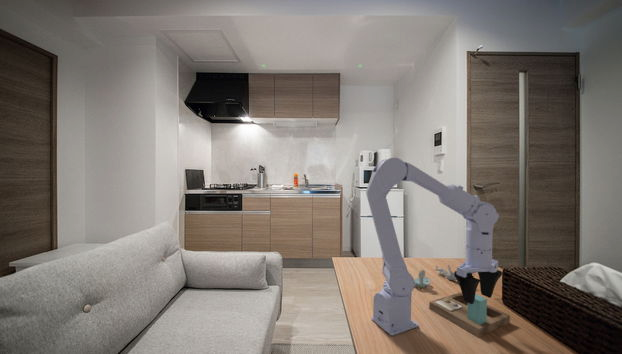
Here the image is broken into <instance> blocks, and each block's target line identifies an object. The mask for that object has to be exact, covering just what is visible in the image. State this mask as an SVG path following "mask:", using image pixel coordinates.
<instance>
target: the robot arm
mask: <svg viewBox="0 0 622 354" xmlns="http://www.w3.org/2000/svg"><path fill="white" fill-rule="evenodd" d="M401 181H403V182H412V183H414V184H415V185H418V186H419V187H421V188H423V189H425V190H427V191H429V192H431V193H432V194H435V195H436V196H438V199H439V203H440V204H442V205H444V206H446V207H447V208H449V209H451V210H453V211H454V212H456V213H458V214H459V215H461V216H462V217H463V219H464V220H465V258H464V259H465V260H464V262H462V263H461V265H459V266H457V267H456V270H455V271H453V272H454V276H455V277H456V279H457V280H456V281H457V283H458V285H459V288H460V290H461V293H462V295H463V299H464V301H465V302H468V303H470V304H473V303H474V300H475V294H477V292H476V291H477V288H478V286H479V287H480V293H481V295H482V296H483V297H485V298H486V297H487V298H488V299H489V298H490V299H491V298H492V296H493V294H494V290H495V287H496V285H497V283H498V281H499V279H500V278H501V277H502V275H503V271H501V270H499V261H498V260H495V259H493V234H494V233H493V231H494V226H495V224H496V223H497V222H498V220H499V217H500V213H498V212H497V209H496V208H495V206H494V205H493V204H492V203H490V202H485V201H481V200H480V196H478V195H476V194H475V195H473V194H471V193H469V192H468V191H465V190H464V186H462V185H460V184H456V185H455V184H449V185H445V184H444V183H443V182H441V181H439V180H438V179H436V178H434V177H432V175H429V174H428V173H426V172H425V171H423V170H422V169H420V168H418V167H417V166H415V165H413V164H411V163H409V162H406V161H403V160H402V159H401V158H398V157H390V158H386V159H382V160H381V161H379V162H378V163H377V164H376V166H374V167H373V168H372V171H371V176H370V179H369V181H368V185H367V188H366V190H365V191H366V193H365V194H366V198H367V202H368V206H369V209H370V213H371V217H372V220H373V223H374V228H375V231H376V235H377V239H378V243H379V246H380V250H381V254H382V257H381V258H382V263H383V265H382V274H383V276H384V277H385V280H384V283H383V284H382V288H381V290H380V291H379V292H377V293H375V294H374V297H373V316H371V320H372V321H373V322H374V323H375V324H377V325H378V326H379V327H380V328H382V329H383V330H384V331H385V332H386V333H387V334H388V335H390V336H395V335H398V334H401V333H404V332H407V331H409V330H412V329H415V328H417V327H419V325H420V324H419V323H418V322H416V321H414V320H413V319H412V293H413V291H414V288H415V287H414V286H415V285H416V284H415V282H414V280H415V278H414V276H413V275H412V274H411V273H410V272H409V271H408V268H407V265H406V263H405V259H404V258H403V255H402V252H401V248H400V245H399V241H398V238H397V233H396V230H395V225H394V221H393V218H392V215H391V214H392V213H391V210H390V207H389V204H388V200H387V195H388V194H389V193H390V192H391V190H392V188H393V187H395V186H396V185H397V184H399V183H400V182H401ZM476 273H477V274H478V278H477V277H474V275H473V274H476Z"/></svg>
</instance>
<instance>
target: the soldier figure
mask: <svg viewBox="0 0 622 354" xmlns="http://www.w3.org/2000/svg"><path fill="white" fill-rule="evenodd" d="M446 266H447V269H448V271H447V270H446V269H444V268H442V267H441V268H439V266H437V265H435V269H434V271H438V275H443V276H444V277H445V278H446V279H447V280H449V281H457V279H456V277H455V276H454V272H455V271H453V270H451V267H450V264H449V263H448V264H446Z"/></svg>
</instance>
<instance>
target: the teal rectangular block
mask: <svg viewBox="0 0 622 354" xmlns="http://www.w3.org/2000/svg"><path fill="white" fill-rule="evenodd" d="M487 305H488V299H487V298H486V297H485V296H483V295H482V296H481V295H479V294H477V293H475V300H474V303H473V304H470V303H468V317H467V318H468V319H469V320H471V321H473V322H475V323H477V324H479V325H480V324H483V323H485V322H486V318H487V316H488V314H487Z"/></svg>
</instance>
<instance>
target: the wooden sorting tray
mask: <svg viewBox="0 0 622 354" xmlns="http://www.w3.org/2000/svg"><path fill="white" fill-rule="evenodd" d="M428 305H429V310H431V311H433V312H434V313H436V314H438V315H440V316H441V317H443V318H444V319H446V320H447V321H450V322H452V323H454V324H456V326H458V327H460V328H462V329H463V330H465V331H467V332H469V333H470V334H472V335H474V336H476V337H477V338H480V337H482V336H485V335H486V334H488V333H491V332H492V331H495V330H497V329H499V328H502V327H504V326H507V325H509V324H510V323H511V315H510V314H508V313H505V312H503V311H501V310H498V309H497V308H494V307H493V306H490V305H488V304H487V318H486V322H485V323H483V324H480V325H479V324H477V323H475V322H473V321H471V320H469V319H468V318H467V317H468V302H465V301H464V299H463V295H462V292H457V293H454V294H451V295H450V294H449V295H448V296H447V295H446V296H444V297H441V298H438V299H435V300H431V301H429V303H428Z"/></svg>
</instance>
